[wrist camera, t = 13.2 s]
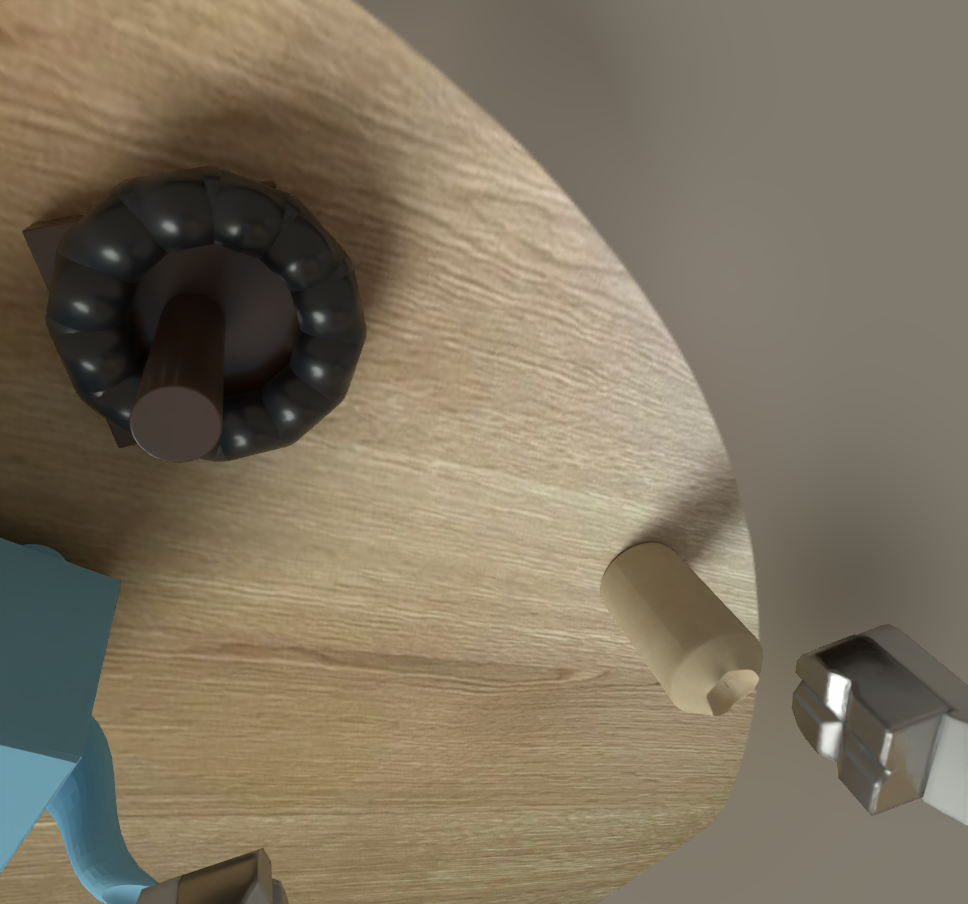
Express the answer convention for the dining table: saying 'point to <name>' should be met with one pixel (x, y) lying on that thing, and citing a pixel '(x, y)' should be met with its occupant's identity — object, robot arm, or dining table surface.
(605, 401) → the dining table surface
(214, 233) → the ring
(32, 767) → the teapot
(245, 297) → the stand
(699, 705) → the candle
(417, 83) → the dining table surface
